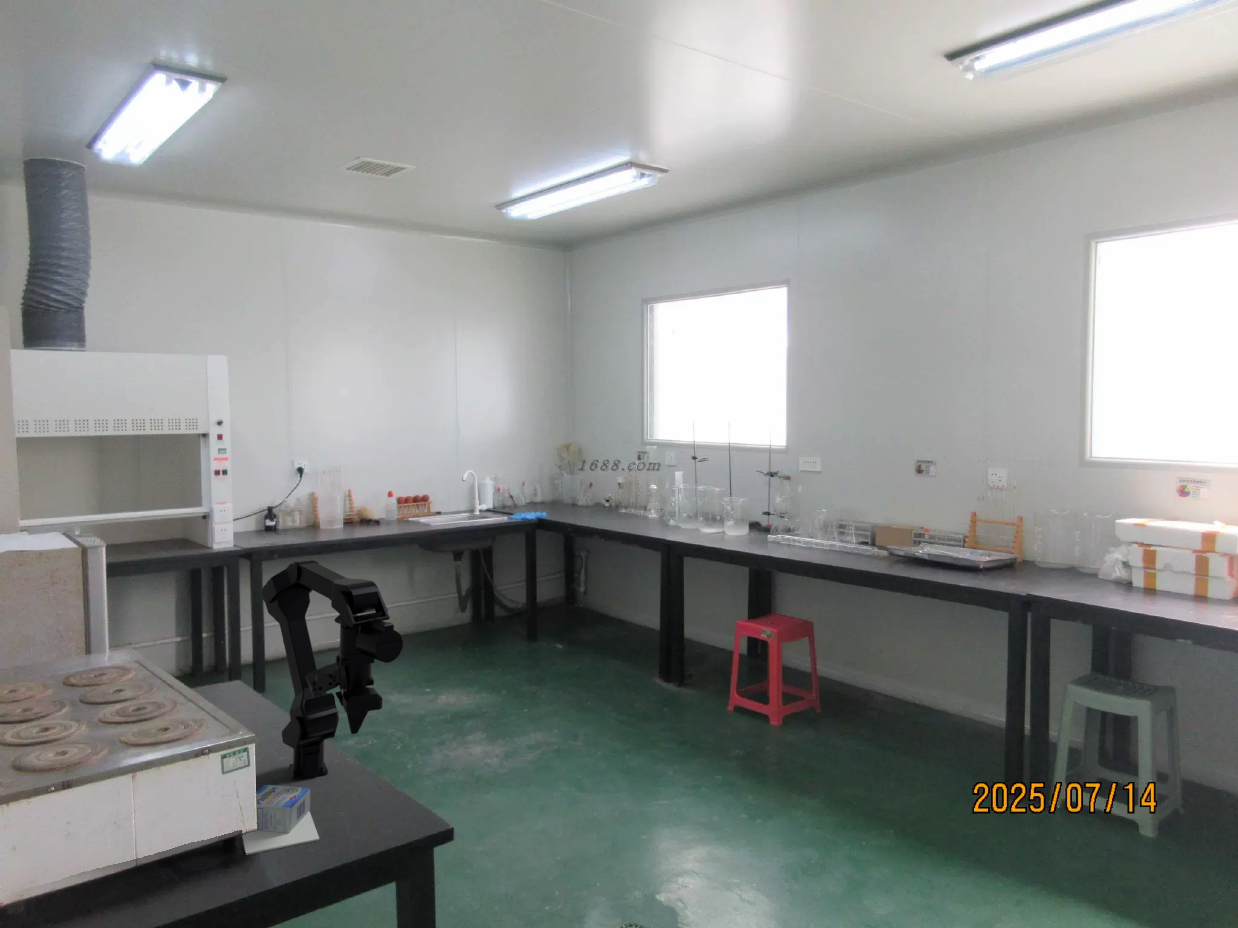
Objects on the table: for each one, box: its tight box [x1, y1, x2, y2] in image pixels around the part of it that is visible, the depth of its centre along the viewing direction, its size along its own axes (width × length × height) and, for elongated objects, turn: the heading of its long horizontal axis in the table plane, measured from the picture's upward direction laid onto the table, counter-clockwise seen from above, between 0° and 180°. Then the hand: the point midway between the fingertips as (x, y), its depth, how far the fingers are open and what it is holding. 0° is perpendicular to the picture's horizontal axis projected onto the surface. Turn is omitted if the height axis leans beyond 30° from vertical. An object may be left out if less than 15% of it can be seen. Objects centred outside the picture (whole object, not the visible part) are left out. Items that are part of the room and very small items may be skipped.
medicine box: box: [256, 784, 311, 833], centre depth 143 cm, size 8×4×9 cm
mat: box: [241, 811, 320, 856], centre depth 141 cm, size 12×11×1 cm
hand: (354, 733), depth 153 cm, fingers closed
